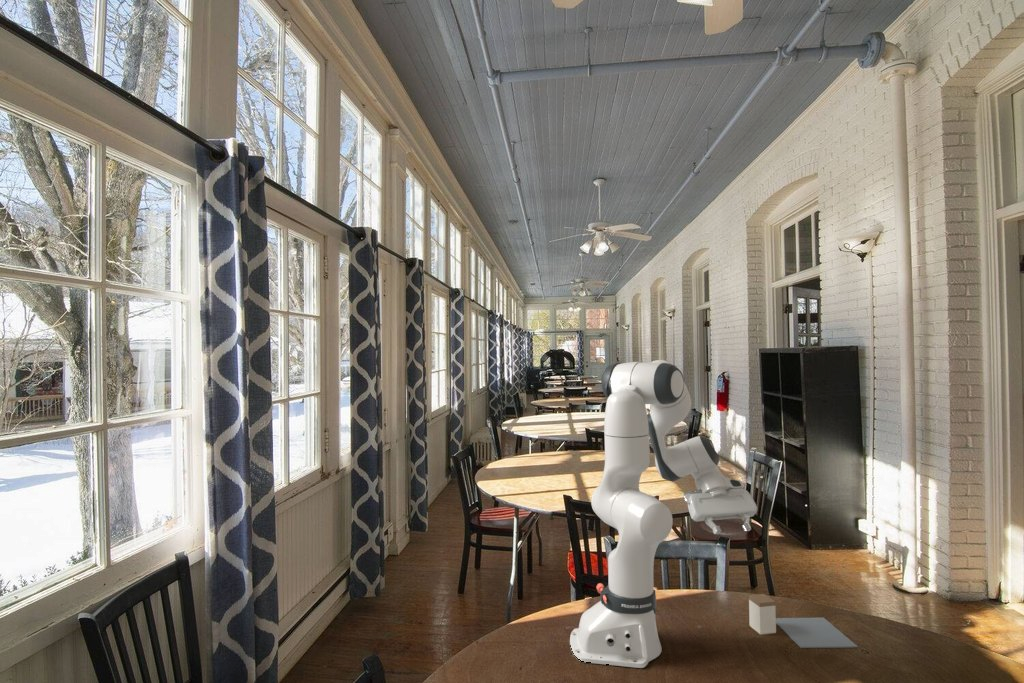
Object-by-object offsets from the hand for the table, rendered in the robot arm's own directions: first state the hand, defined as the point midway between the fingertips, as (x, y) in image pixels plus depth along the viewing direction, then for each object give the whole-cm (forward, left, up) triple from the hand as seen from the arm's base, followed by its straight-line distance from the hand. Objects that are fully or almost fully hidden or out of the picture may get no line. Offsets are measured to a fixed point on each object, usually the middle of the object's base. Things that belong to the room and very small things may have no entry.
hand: (733, 531), depth 150 cm
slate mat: (+14, -14, -21) cm, 29 cm away
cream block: (+2, -12, -21) cm, 25 cm away
